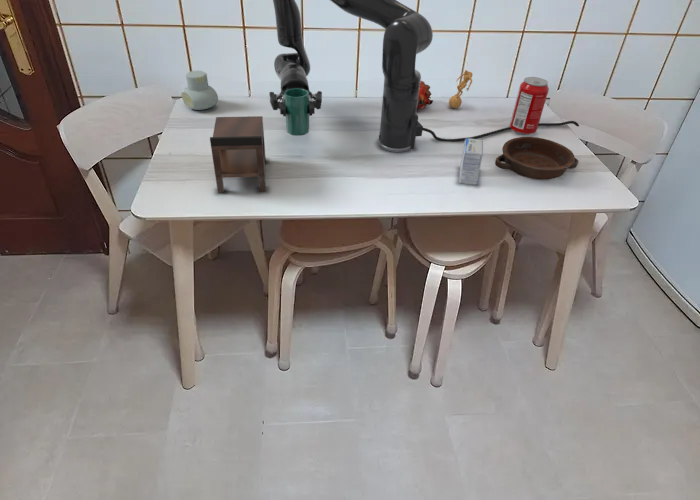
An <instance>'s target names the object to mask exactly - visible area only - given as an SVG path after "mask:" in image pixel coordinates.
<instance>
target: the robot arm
mask: <svg viewBox="0 0 700 500" xmlns="http://www.w3.org/2000/svg"><path fill="white" fill-rule="evenodd" d="M329 1H330V2H331V3H333V4H334V5H335V6H337V8H339V9H340V10H342V11H344V12H345V13H347V14H349V15H351V16H354V17H357V18H360V19H362V20H365V21H369V22H371V23H375V24H377V25H379V26H380V27H382V28H383V29H385V30H384V33H383V39H382V53H381V54H382V57H381V60H382V61H381V68H382V69H381V70H382V74H383V91H382V101H381V115H380V124H379V125H380V126H379V135H378V146H379V147H380V148H381V149H382V150H385V151H388V152H392V153H404V152H407V151H410V150H415V144H416V137H422V136H423V132H426V133H428V134H430V135H431V136H432V137H433V139H434V140H436V141H438V142H447V143H448V142H449V143H455V142H465V139H466V138H470V139H478V140H479V139H481V138H485V137H488V136H492V135H496V134H499V133H502V132H506V131H510V130H511V131H512V129H511V127H510V126H509V127H504V128H500V129H497V130H494V131H489V132H486V133H481V134H479V135H474V136H469V137H460V138H459V137H458V138H442V137H439V136H437V134H436V133H435V132H434V131H433V130H431V129H430V128H426V127H424V126H423V125H422V124H421V122H420V121H419V115H418V113H417V112H418V108H417V105H418V97H419V89H420V82H421V81H422V75H421V72H420V71H419V70H417V69H416V59H417V55H418V54H420V53H422V52H424V51H425V50H427V49H428V48H429V47H430V45H431V44H432V41H433V36H434V35H433V33H434V32H433V28H432V26H431V24H430V22H429V20H428V19H427V18H426V17H425V16H423V14H421V13H420V12H418V11H416V10H414V9H412V8H410V7H409V6H407V5H405V4H403V3H402V2H400V1H398V0H329ZM272 3H273V8H274V15H275V25H276V34H277V36H276V37H277V41H278V44H279V45H280V46H281V47H284V48H289V49H292V50H295V52H289V53H280V54H278V55H276V56H275V58H274V62H273V68H274V72H275V74H276V76H277V78H278V79H279V80H280V92H279V94H277V93H275V92H274V91H269V93H268V94H269V96H268V97H269V104H270V106H271V108H272V110H273V111H277V110H279V114H280V115H282V116H283V117H286V107H285V91H286V90H289V89H293V88H300V89H304V90H307V91H308V93H309V117H312V116H313V115H314V114H315V113H316V112H315V111H316V110H321V108H322V103H323V91H321V90H318V91H317V92H315V93H313V92H312V91H310V86H309V81H308V78H307V77H308V76H309V74H310V72H311V62H310V59H309V56H308V54H307V51H306V48H305V44H304V40H303V28H302V17H301V11H300V8H299V5H298V3H297V2H296V0H272ZM566 125H574V126H576V127H580V124H579V123H578V122H577V121H575V120H568V121H563V122H553V123H552V122H551V123H550V122H539V125H538V127H561V126H566Z"/></svg>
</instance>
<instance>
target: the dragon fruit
mask: <svg viewBox="0 0 700 500" xmlns="http://www.w3.org/2000/svg"><path fill="white" fill-rule="evenodd" d="M430 90H431V85H429V84H426V83H425V81H423V80H421V82H420V89H419V97H418V105H417V109H420V110H423V109H424V108H426V106H430V105H432V104H433V103H434V99H431V98H432V96H431V95H432V92H431V91H430Z"/></svg>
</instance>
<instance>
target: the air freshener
mask: <svg viewBox="0 0 700 500" xmlns="http://www.w3.org/2000/svg"><path fill="white" fill-rule="evenodd" d="M185 77H186V84H187V87H185V88H184V89H183V90H182V92H181V99H182V102H183V103H184V105H185V106H186V107H188V108H189V109H192V110H193V111H194V110H195V111H202V110H203V111H204V110H208V109H210V108H212V107H214V106H215V105H216V104H217V103H218V102H219V95H218V93H217V91H216V90H215V89H214V88H213V87H212V86H210V85H209V81H208V74H207V73H206V72H205V71H203V70H191V71H188V72H187V73H186V74H185Z"/></svg>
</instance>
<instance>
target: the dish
mask: <svg viewBox="0 0 700 500" xmlns="http://www.w3.org/2000/svg"><path fill="white" fill-rule="evenodd" d="M501 151H502V154H500V155H498V156H497V157H496V158H495V160H494V165H495V166H496V167H497V168H499V169H500V170H507V171H508V170H509V171H511V172H513V173H515V174H517V175H518V176H521V177H524V178H527V179H531V180H539V181H549V180H554V179H555V180H556V179H557V178H560V177H562V176H563V175H564V174H565V173H566V172H567V170H571V169H575V168H577V166H578V165H579V160H578V158H577V157H575V155H574V153H573V151H572V150H571V149H570V148H568V147H566V146H565V145H564V144H561V143H559V142H555V141H554V140H551V139H547V138H543V137H537V136H536V137H535V136H518V137H513V138H511V139H508V140H507V141H506V142H504V144H503V145H502V148H501Z"/></svg>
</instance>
